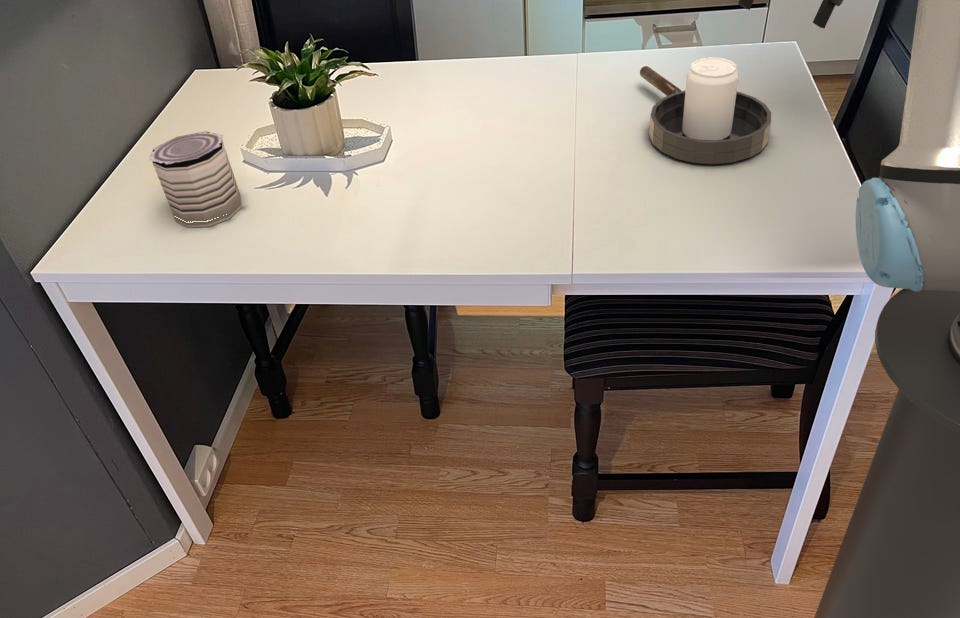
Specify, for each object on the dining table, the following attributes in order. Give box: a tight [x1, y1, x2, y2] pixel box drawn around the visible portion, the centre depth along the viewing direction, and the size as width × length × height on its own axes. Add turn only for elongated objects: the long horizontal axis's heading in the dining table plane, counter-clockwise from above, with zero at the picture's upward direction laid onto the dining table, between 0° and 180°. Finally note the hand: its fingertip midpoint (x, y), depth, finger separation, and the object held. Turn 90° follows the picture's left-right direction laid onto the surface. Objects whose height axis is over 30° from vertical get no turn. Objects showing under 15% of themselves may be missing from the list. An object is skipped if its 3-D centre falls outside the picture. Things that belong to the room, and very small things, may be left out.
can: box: [148, 130, 243, 229], centre depth 127 cm, size 11×11×12 cm
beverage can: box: [682, 56, 740, 140], centre depth 131 cm, size 8×8×12 cm
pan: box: [648, 89, 772, 165], centre depth 133 cm, size 19×19×4 cm
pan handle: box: [639, 65, 682, 97], centre depth 144 cm, size 13×2×2 cm, turn 20°
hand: (779, 16), depth 123 cm, fingers open, 13 cm apart
